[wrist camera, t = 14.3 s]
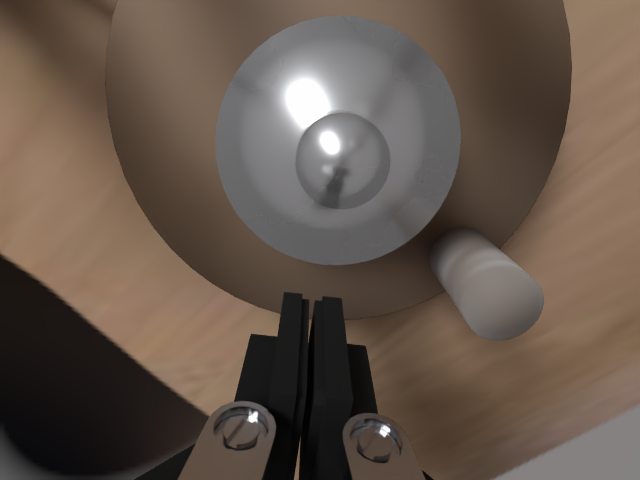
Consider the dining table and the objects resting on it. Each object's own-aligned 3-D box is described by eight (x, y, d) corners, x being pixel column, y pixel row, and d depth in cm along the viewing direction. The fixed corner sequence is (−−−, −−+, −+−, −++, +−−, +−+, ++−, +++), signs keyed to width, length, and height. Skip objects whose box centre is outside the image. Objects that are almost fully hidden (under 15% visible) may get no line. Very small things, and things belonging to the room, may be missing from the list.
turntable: (355, -282, 12) (396, -590, 6) (619, 130, 17) (774, 155, 11) (42, 110, 16) (-102, 125, 10) (329, 359, 20) (338, 463, 15)
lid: (331, -23, 13) (343, -74, 9) (470, 136, 15) (537, 159, 10) (192, 143, 14) (145, 168, 10) (333, 266, 16) (342, 330, 12)
